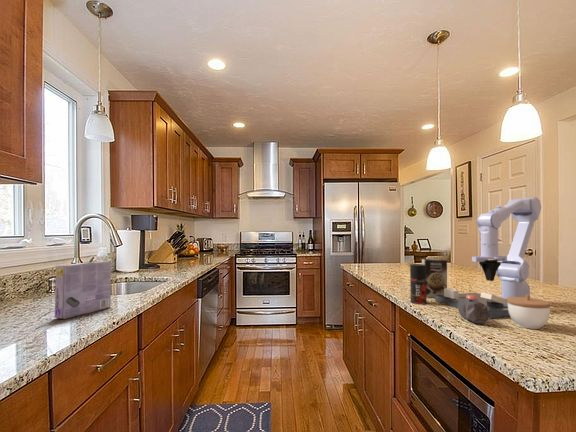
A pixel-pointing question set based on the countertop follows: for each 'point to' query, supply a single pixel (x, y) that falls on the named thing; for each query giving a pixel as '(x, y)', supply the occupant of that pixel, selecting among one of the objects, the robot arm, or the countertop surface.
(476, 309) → the perforated stone tool
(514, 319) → the lidded jar
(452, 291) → the fader knob
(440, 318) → the countertop surface
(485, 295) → the beige rectangular block
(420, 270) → the deodorant
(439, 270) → the coffee box
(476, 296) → the button
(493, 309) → the panel
